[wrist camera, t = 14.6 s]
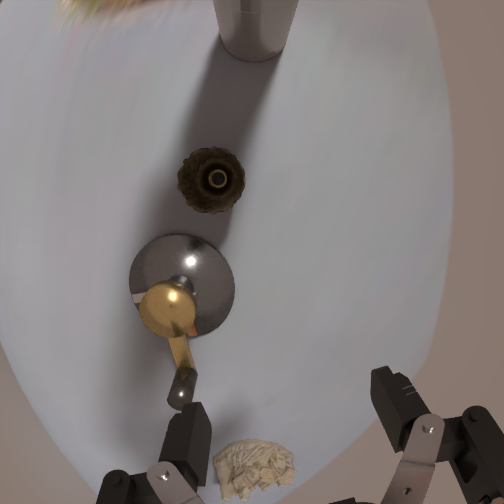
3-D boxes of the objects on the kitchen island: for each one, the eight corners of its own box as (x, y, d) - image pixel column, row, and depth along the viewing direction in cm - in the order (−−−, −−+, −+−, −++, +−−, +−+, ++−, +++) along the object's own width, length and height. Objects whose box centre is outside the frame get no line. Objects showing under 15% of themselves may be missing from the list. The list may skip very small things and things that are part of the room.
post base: (118, 246, 41) (100, 257, 35) (220, 223, 40) (215, 231, 35) (150, 338, 45) (139, 359, 39) (245, 324, 44) (244, 346, 39)
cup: (255, 190, 39) (257, 195, 31) (207, 215, 40) (197, 225, 32) (230, 141, 37) (225, 134, 30) (182, 167, 38) (166, 167, 31)
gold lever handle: (139, 283, 36) (116, 309, 28) (190, 276, 36) (176, 303, 28) (169, 375, 40) (157, 410, 32) (214, 373, 40) (209, 409, 32)
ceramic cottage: (203, 459, 54) (201, 511, 40) (250, 428, 52) (257, 488, 38) (252, 477, 58) (258, 524, 44) (300, 450, 56) (314, 500, 41)
